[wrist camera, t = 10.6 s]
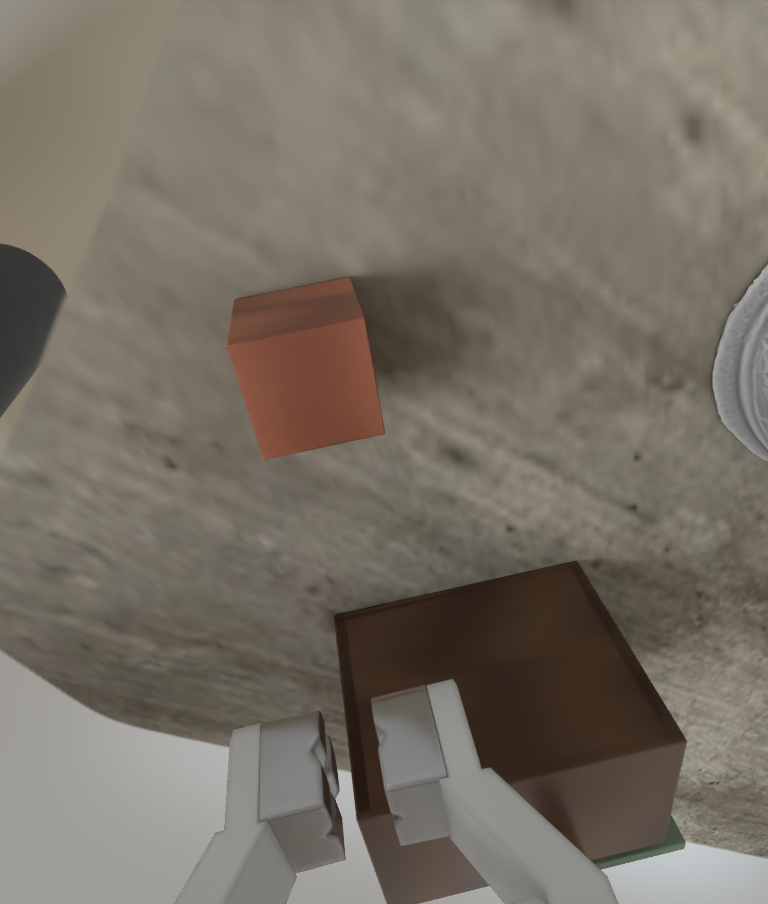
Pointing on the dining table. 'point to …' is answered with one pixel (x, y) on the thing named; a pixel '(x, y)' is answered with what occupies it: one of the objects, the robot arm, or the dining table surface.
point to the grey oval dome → (745, 369)
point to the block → (305, 367)
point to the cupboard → (515, 717)
